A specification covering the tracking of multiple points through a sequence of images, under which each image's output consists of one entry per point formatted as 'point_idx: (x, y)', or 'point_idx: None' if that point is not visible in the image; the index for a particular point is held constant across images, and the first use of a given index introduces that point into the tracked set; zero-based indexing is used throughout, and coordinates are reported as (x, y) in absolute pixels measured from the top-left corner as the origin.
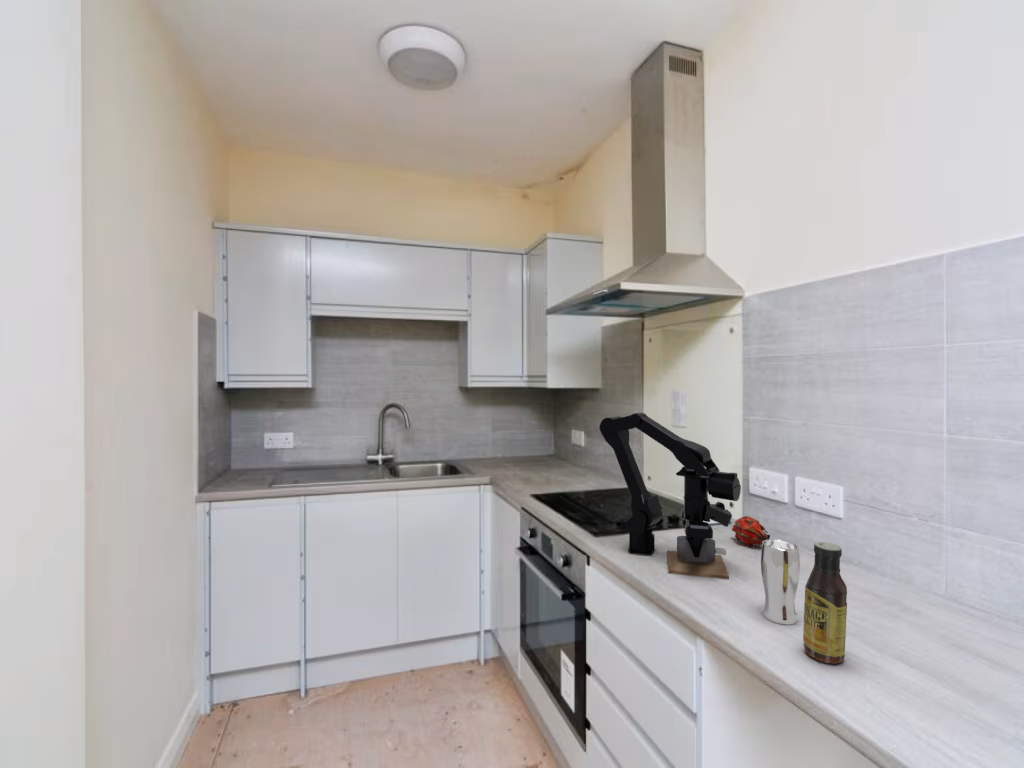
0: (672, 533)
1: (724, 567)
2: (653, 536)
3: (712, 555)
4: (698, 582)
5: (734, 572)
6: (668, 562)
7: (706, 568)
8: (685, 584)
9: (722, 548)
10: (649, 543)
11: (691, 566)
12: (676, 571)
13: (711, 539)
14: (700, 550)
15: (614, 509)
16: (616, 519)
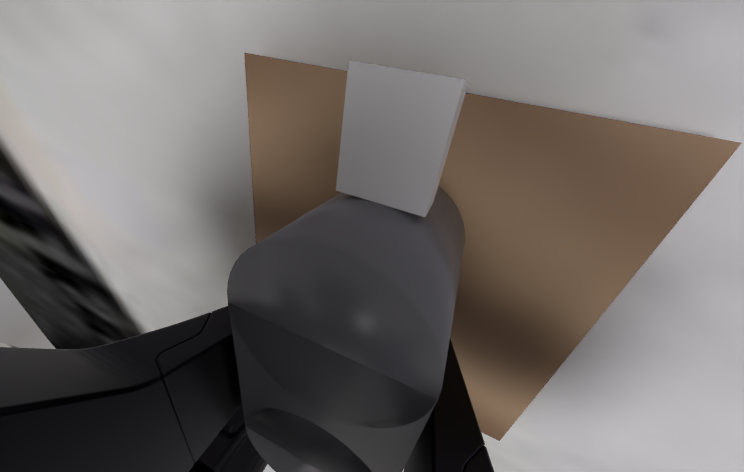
0: (71, 204)
1: (495, 112)
2: (231, 433)
3: (454, 241)
4: (681, 377)
5: (545, 20)
6: None
7: (502, 263)
8: (685, 446)
9: (359, 100)
10: None
11: (459, 329)
12: (514, 415)
13: (273, 266)
14: (465, 390)
15: (15, 290)
16: (73, 319)
